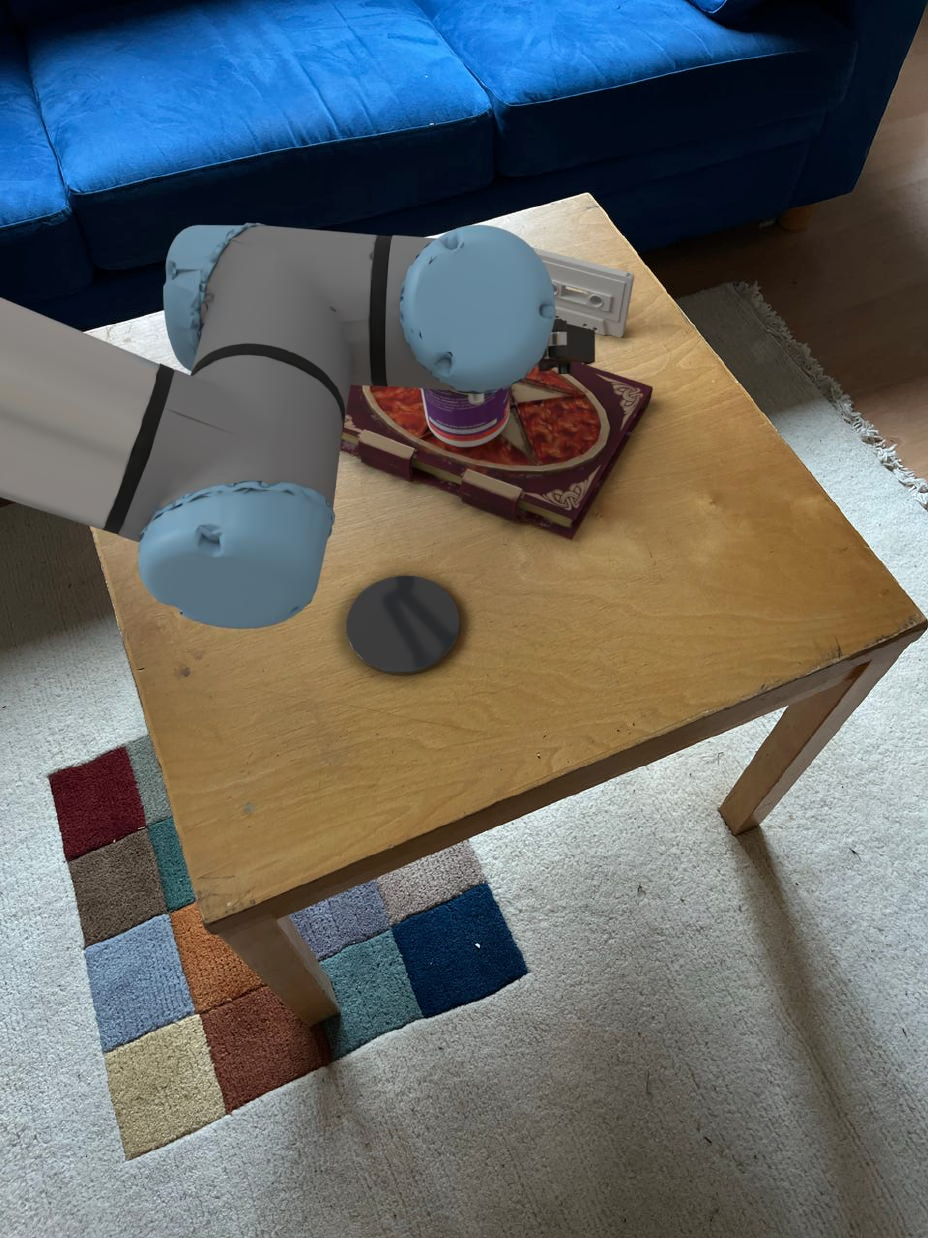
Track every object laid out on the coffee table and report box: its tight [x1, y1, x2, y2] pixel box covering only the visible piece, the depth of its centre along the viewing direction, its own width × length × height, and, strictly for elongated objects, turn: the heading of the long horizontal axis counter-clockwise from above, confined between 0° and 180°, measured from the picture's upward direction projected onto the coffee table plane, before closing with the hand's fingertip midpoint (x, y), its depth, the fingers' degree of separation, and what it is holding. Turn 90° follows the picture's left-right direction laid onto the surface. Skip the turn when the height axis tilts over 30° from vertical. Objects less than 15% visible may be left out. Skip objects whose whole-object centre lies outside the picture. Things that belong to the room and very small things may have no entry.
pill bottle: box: [421, 388, 510, 447], centre depth 76 cm, size 8×8×14 cm
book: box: [340, 362, 654, 540], centre depth 87 cm, size 28×21×5 cm
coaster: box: [345, 574, 461, 676], centre depth 76 cm, size 10×10×1 cm
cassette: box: [531, 246, 635, 338], centre depth 94 cm, size 12×2×8 cm, turn 66°
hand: (465, 358), depth 76 cm, fingers open, 13 cm apart
